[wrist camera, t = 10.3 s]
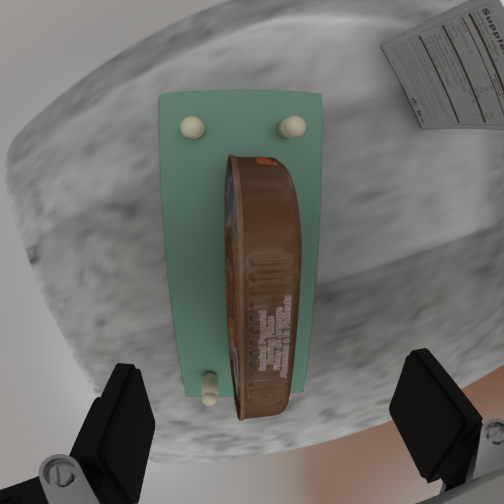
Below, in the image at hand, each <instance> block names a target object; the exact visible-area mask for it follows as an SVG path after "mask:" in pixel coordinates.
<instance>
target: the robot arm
mask: <svg viewBox="0 0 504 504" xmlns="http://www.w3.org/2000/svg"><path fill="white" fill-rule="evenodd" d="M389 412H390V415H391V417H392V419H393V421H394V423H395V425H396V427H397V428H398V430H399V432H400V434H401V436H402V438H403V440H404V442H405V444H406V446H407V448H408V450H409V452H410V454H411V457H412V458H413V461H414V463H415V465H416V467H417V469H418V471H419V473H420V475H421V476H422V477H423V478H426V480H427V482H428V483H431V482H433V481H436V480H438V479H440V478H441V479H442V481H443V484H442V487H441V490H440V493H439V495H437V496H434V497H432V498H429V499H427V500H424V501H421V502H419V503H416V504H504V421H503V420H500V419H490V420H488V421H486V422H485V423H484V424H482V422H481V421H482V419H483V418H482V417H481V415H480V414H479V413H478V411H477V410H476V409H475V407H474V406H473V405H472V403H471V402H470V401H469V399H468V398H467V397H466V396H465V394H464V393H463V392H462V390H461V389H460V388H459V387H458V385H457V384H456V383H455V382H454V380H453V379H452V378H451V377H450V375H449V374H448V373H447V372H446V371H445V369H444V368H443V367H442V366H441V364H440V363H439V362H438V361H437V360H436V358H435V357H434V356H433V355H432V354H431V352H430V351H429V350H428V349H427V348H423V349H418V350H413V351H411V352H410V355H408V356H407V357H406V360H405V363H404V366H403V369H402V372H401V375H400V378H399V381H398V384H397V387H396V390H395V392H394V395H393V398H392V401H391V403H390V406H389ZM154 431H155V419H154V416H153V413H152V410H151V406H150V403H149V400H148V396H147V393H146V389H145V386H144V382H143V378H142V375H141V371H140V369H136V368H135V366H134V365H133V364H123V363H118V364H116V366H115V368H114V370H113V372H112V374H111V376H110V378H109V380H108V383H107V385H106V387H105V389H104V391H103V393H102V395H101V397H97V398H96V399H95V400H94V402H93V404H92V406H91V408H90V410H89V412H88V414H87V416H86V419H85V421H84V423H83V425H82V428H81V430H80V432H79V434H78V436H77V438H76V441H75V443H74V446H73V448H72V450H71V452H70V455H69V456H67V455H63V454H57V455H52V456H50V457H48V458H47V459H45V460H44V461H43V462H42V464H41V466H40V468H39V476H38V477H35V478H33V479H30V480H28V481H25V482H22V483H19V484H16V485H14V486H10V487H8V488H5V489H2V490H0V504H137V503H138V502H139V498H140V493H141V489H142V484H143V479H144V475H145V470H146V465H147V461H148V457H149V452H150V448H151V443H152V439H153V435H154Z"/></svg>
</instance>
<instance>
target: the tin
mask: <svg viewBox="0 0 504 504" xmlns="http://www.w3.org/2000/svg"><path fill="white" fill-rule="evenodd" d="M224 234H225V236H224V238H225V282H226V314H227V332H228V348H229V359H230V368H231V377H232V384H233V393H234V400H235V406H236V412H237V417H238V419H239V421H242V420H244V419H248V418H258V417H267V416H273V415H278V414H280V413H282V412H283V411H284V410H285V409H286V407H287V405H288V401H289V398H290V392H291V384H292V376H293V367H294V358H295V348H296V338H297V325H298V313H299V297H300V281H301V263H302V237H301V222H300V212H299V206H298V200H297V194H296V190H295V187H294V184H293V181H292V178H291V175H290V173H289V171H288V169H287V168H286V167H285V166H284V165H283V164H282V163H281V162H280V161H278V160H277V159H275V158H273V157H236V156H234V155H232V154H230V155H229V156H228V159H227V166H226V174H225V184H224Z"/></svg>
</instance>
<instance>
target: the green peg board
mask: <svg viewBox="0 0 504 504" xmlns="http://www.w3.org/2000/svg"><path fill="white" fill-rule="evenodd" d="M159 135H160V173H161V194H162V211H163V226H164V238H165V250H166V260H167V270H168V280H169V289H170V297H171V305H172V313H173V320H174V327H175V334H176V341H177V347H178V354H179V360H180V366H181V371H182V377H183V383H184V388H185V393H186V397H202V401H203V403H204V404H205V405H208V406H212V405H215V404H216V403H217V401H218V397H234V393H233V384H232V377H231V368H230V359H229V348H228V332H227V314H226V282H225V238H224V236H225V234H224V184H225V174H226V166H227V159H228V156H229V155H230V154H232V155H234V156H236V157H273V158H275V159H277V160H278V161H280V162H281V163H282V164H283V165H284V166H285V167H286V168H287V169H288V171H289V173H290V175H291V178H292V181H293V184H294V187H295V190H296V194H297V200H298V206H299V212H300V222H301V237H302V263H301V281H300V297H299V313H298V325H297V338H296V348H295V358H294V367H293V376H292V384H291V392H290V398H291V396H292V393H296V392H304V386H305V378H306V370H307V362H308V354H309V345H310V336H311V327H312V317H313V306H314V295H315V283H316V271H317V256H318V241H319V223H320V200H321V167H322V94H319V93H307V92H292V91H270V90H215V91H193V92H178V93H167V94H160V100H159ZM290 398H289V400H290Z"/></svg>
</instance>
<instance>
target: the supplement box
mask: <svg viewBox="0 0 504 504" xmlns="http://www.w3.org/2000/svg"><path fill="white" fill-rule="evenodd" d="M382 48H383V50H384V52H385V54H386V56H387V58H388V60H389V61H390V63H391V65H392V67H393V69H394V71H395V73H396V75H397V76H398V78H399V80H400V82H401V84H402V86H403V88H404V90H405V93H406V95H407V97H408V99H409V101H410V103H411V105H412V107H413V110H414V112H415V114H416V116H417V119H418V121H419V123H420V125H421V127H422V129H445V128H451V129H495V130H504V0H469V1H467V2H464V3H462V4H460V5H458V6H456V7H453V8H451V9H449V10H447V11H445V12H443V13H441V14H439V15H437V16H435V17H433V18H431V19H429V20H427V21H425V22H423V23H421V24H419V25H418V26H416V27H414V28H412V29H410V30H409V31H407V32H405V33H403V34H402V35H400V36H398V37H396V38H395V39H393V40H391V41H390V42H388V43H386V44H385V45H383V46H382Z"/></svg>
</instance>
